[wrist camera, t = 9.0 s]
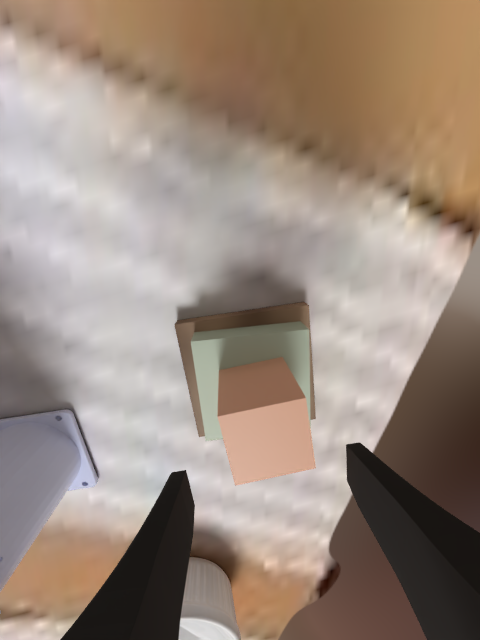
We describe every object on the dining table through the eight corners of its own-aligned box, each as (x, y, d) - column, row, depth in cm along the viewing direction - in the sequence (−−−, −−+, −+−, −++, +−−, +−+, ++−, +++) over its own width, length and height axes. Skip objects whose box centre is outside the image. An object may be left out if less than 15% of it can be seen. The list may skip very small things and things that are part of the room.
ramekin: (244, 549, 27) (248, 619, 21) (232, 615, 30) (233, 691, 24) (137, 546, 26) (115, 619, 21) (136, 615, 29) (116, 694, 23)
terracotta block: (231, 424, 18) (235, 485, 14) (218, 370, 17) (217, 416, 12) (291, 411, 18) (315, 468, 14) (282, 356, 17) (306, 397, 12)
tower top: (207, 423, 21) (205, 441, 19) (194, 332, 18) (190, 341, 16) (302, 412, 21) (310, 428, 19) (300, 321, 19) (309, 329, 17)
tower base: (201, 421, 23) (199, 436, 21) (179, 317, 20) (174, 324, 18) (308, 404, 23) (315, 418, 21) (300, 299, 20) (308, 304, 18)
